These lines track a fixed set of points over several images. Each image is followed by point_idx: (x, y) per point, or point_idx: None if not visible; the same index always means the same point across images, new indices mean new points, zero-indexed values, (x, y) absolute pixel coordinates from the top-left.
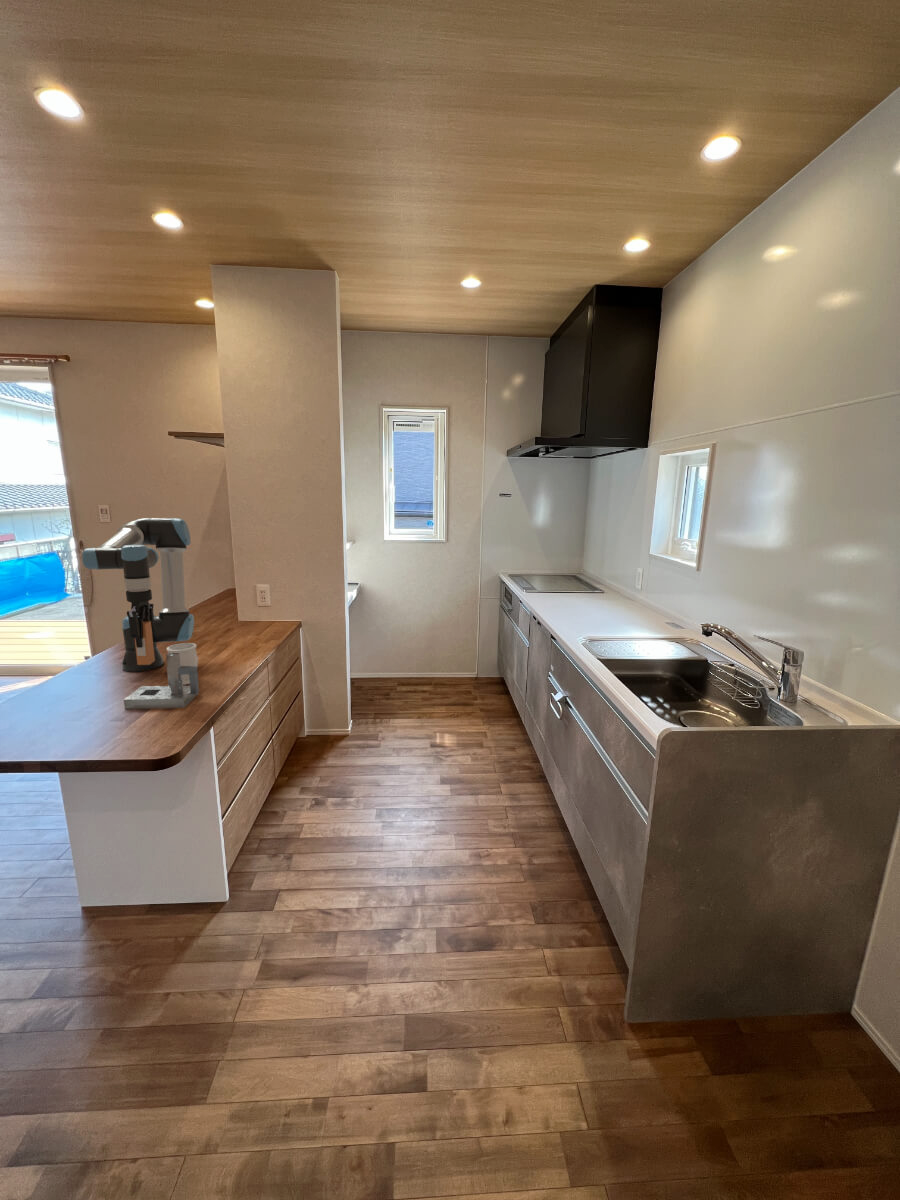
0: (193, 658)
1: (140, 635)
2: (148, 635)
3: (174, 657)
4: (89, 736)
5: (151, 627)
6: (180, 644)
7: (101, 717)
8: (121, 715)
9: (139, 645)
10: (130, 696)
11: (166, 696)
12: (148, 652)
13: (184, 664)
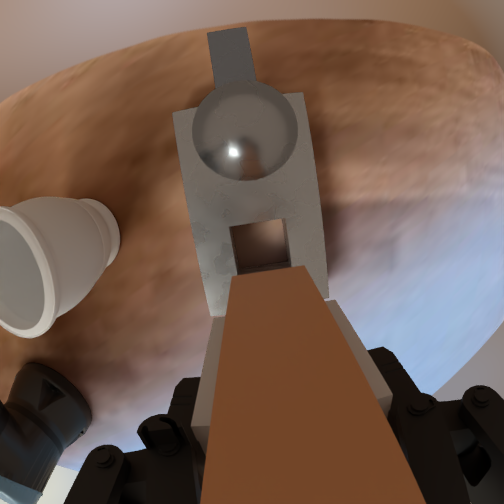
0: (36, 200)
1: (442, 422)
2: (319, 406)
3: (280, 96)
4: (459, 258)
5: (146, 490)
6: None
7: (374, 306)
8: (363, 263)
9: (394, 366)
10: None
11: (291, 165)
12: (317, 299)
13: (76, 219)
